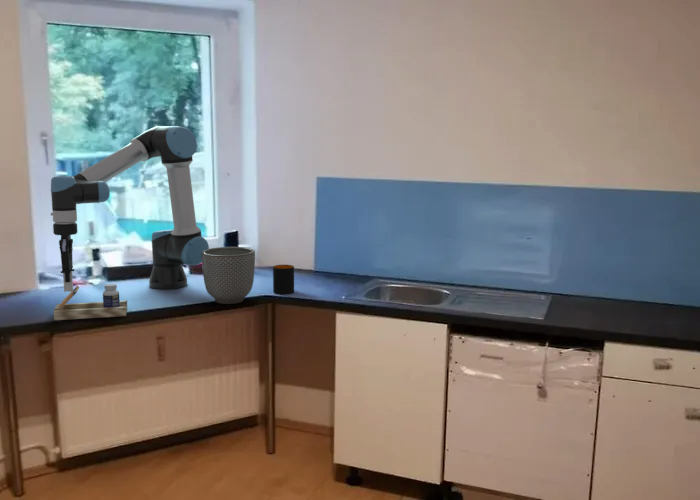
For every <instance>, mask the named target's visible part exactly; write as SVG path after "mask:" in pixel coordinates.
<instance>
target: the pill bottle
mask: <svg viewBox="0 0 700 500" xmlns="http://www.w3.org/2000/svg"><path fill="white" fill-rule="evenodd" d="M117 285H118V284H116V283H106V284H104V291H102V302H103V308H107V307H120V301H121V300H120V292H119V289H117V287H118V286H117Z"/></svg>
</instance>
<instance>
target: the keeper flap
mask: <svg viewBox="0 0 700 500" xmlns="http://www.w3.org/2000/svg"><path fill="white" fill-rule="evenodd" d="M79 289H80V287H79V285H76V287H74V288H73V291H70V293H68V294H67V296H65V298H63V300H62V301H61V303H60V304H61V305H60V307H61V308H62V307H63V306H64V305H65V304H68V302H69V301H70V300H71V299H72V298H73V297H74V296H75V295H76V294H77V293H78V292H79Z"/></svg>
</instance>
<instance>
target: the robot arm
mask: <svg viewBox="0 0 700 500" xmlns="http://www.w3.org/2000/svg"><path fill="white" fill-rule="evenodd" d="M197 148H198V141H197V138H196V137H195V134H194V133H193V131H191V130H190V129H189V128H187V127H185V126H179V125H173V126H172V125H171V126H169V125H167V126H164V125H159V126H154V127H151V128H150V129H147V130H146V131H144V132H142V133H141V134H139V135H137V136H135V137H133V138H132V139H130V141H129V144H127V145H125V146H123V147H122V148H120V149H118V150H117V151H115V152H113V153H112V154H110V155H108V156H106V157H105V158H103V159H101V160H99V161H98V162H95V163H94V164H93V165H91V166H89V167H87V168H85V169H84V170H82V171H80V172H78V173H77V174H75V175H73V176H71V175H70V176H69V175H68V176H67V175H65V176H64V175H63V176H61V175H60V176H59V175H58V176H53V177H52V178H51V179H50V195H51V207H52V209H51V210H52V212H50V216H52V221H53V225H52V228H53V229H52V231H53V232H52V233H53V234H54V235H55V236H60V239H58V246H59V247H58V248H59V252H60V260H61V263H60V264H61V270H60V273H61V274H63V275H62V276H63V292H67V293H68V292H72V291H73V290H74V280H73V272H75V268H74V266H73V265H74V264H73V263H74V262H73V251H74V250H73V244H74V240H73V239H74V238H72V237H71V236H72V235H73V236H75V235H77V234H78V223H77V222H78V213H77V212H78V211H77V205H81V204H96V203H98V204H99V203H105V202H107V201H108V200H109V198H110V187H109V184H108V183H107V182H109V181H110V180H112V179H113V178H115V177H117V176H119V174H122V173H124V172H125V171H127V170H128V169H130V168H132V167H133V166H135V165H136V164H139V163H140V162H146V161H148V160H150V159H153V158H158V157H160V158H161V159H160V160H161V164H162V165H163V166H164V167H165V168H166V173H167V174H166V175H167V183H168V190H169V197H170V198H169V199H170V206H171V213H172V214H171V216H172V221H173V222H172V223H173V228H171V229H162V230H155V231H153V232H152V233H151V248H152V250H151V252H152V254H151V255H152V270H151V273H150V277H149V280H148V282H149V283H148V285H149V287H150V288H152V289H155V290H156V289H157V290H170V289H171V290H172V289H180V288H183V287H186V286H188V278H187V275H186V273H185V270H184V266H183V265H185V266H198V265H200V264H202V257H201V254H202V251H203V250H206V249H210V247H209V242H208V240H207V239H206V238H205V237H203V235H202V230H201V228H200V227H198V226H197V218H196V211H195V210H196V209H195V205H194V204H195V203H194V196H193V195H194V194H193V187H192V178H191V170H190V165H191V164H192V163H193V156H194V155H195V154H196V151H197Z"/></svg>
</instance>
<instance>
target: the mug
mask: <svg viewBox="0 0 700 500" xmlns="http://www.w3.org/2000/svg"><path fill="white" fill-rule="evenodd" d="M272 283H273V284H272V292H273V294H275V295H279V294H280V295H281V296H282V295H292V294H294V293H295V266H294V265H291V264H277V265H276V264H275V265H274V266H272Z"/></svg>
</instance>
